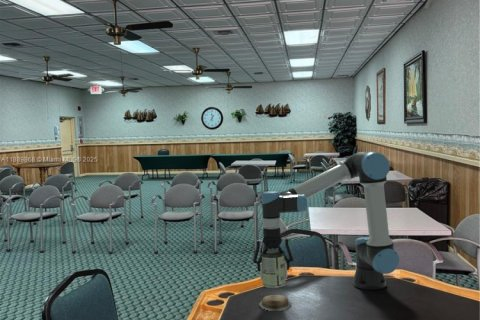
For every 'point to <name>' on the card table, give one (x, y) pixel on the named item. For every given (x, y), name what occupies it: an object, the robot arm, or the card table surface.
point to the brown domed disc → (275, 303)
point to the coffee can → (273, 268)
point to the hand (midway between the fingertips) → (273, 278)
